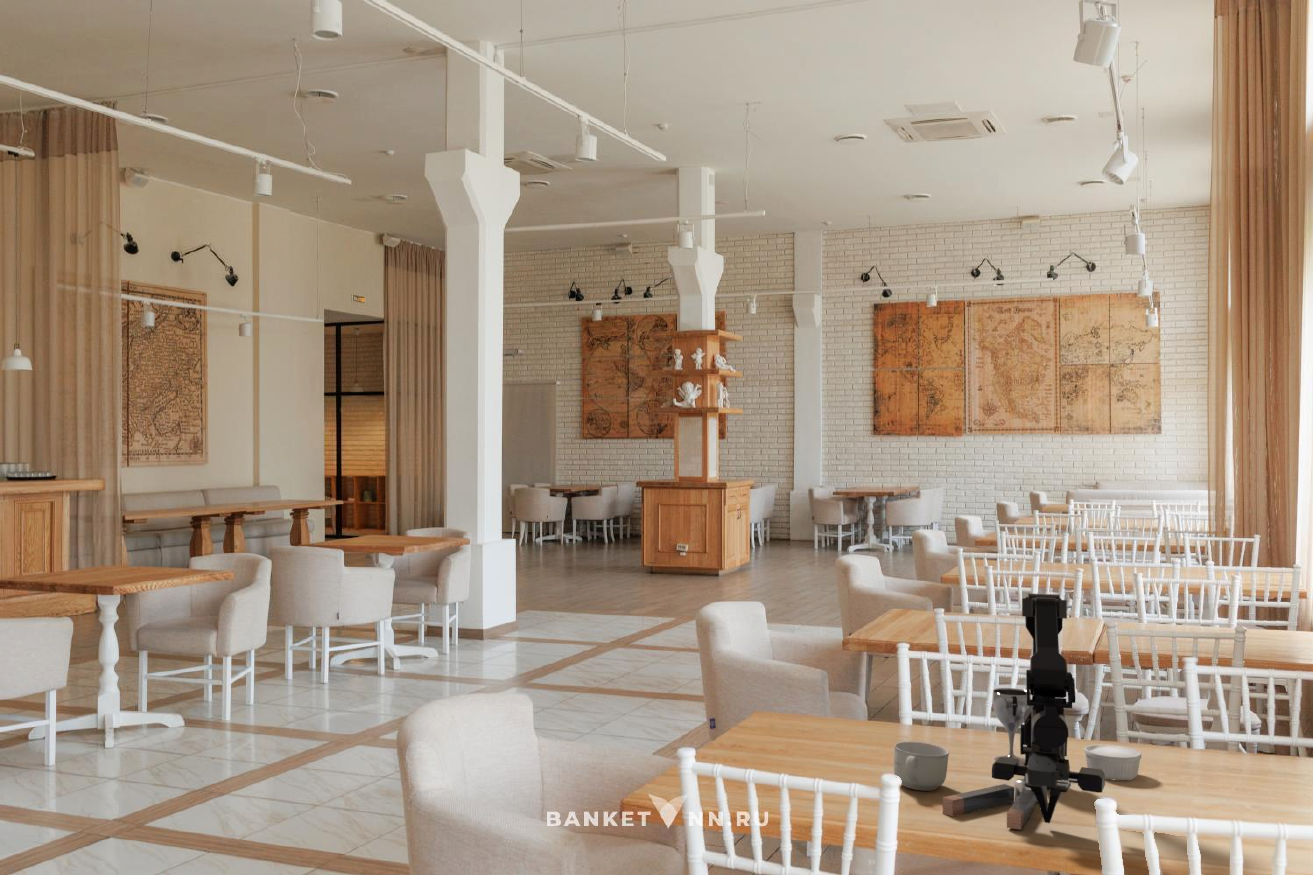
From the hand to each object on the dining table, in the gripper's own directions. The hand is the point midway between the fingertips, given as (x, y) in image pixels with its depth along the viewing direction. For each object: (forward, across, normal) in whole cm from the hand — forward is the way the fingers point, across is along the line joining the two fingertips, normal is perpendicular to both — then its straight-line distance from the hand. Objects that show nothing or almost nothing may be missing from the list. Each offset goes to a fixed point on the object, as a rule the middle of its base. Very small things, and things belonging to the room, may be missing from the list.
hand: (1047, 822), depth 206 cm
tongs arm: (+1, -5, +4) cm, 7 cm away
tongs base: (+1, -11, +8) cm, 14 cm away
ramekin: (+2, +7, +44) cm, 45 cm away
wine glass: (+2, -14, +46) cm, 48 cm away
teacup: (+2, -27, +14) cm, 30 cm away
